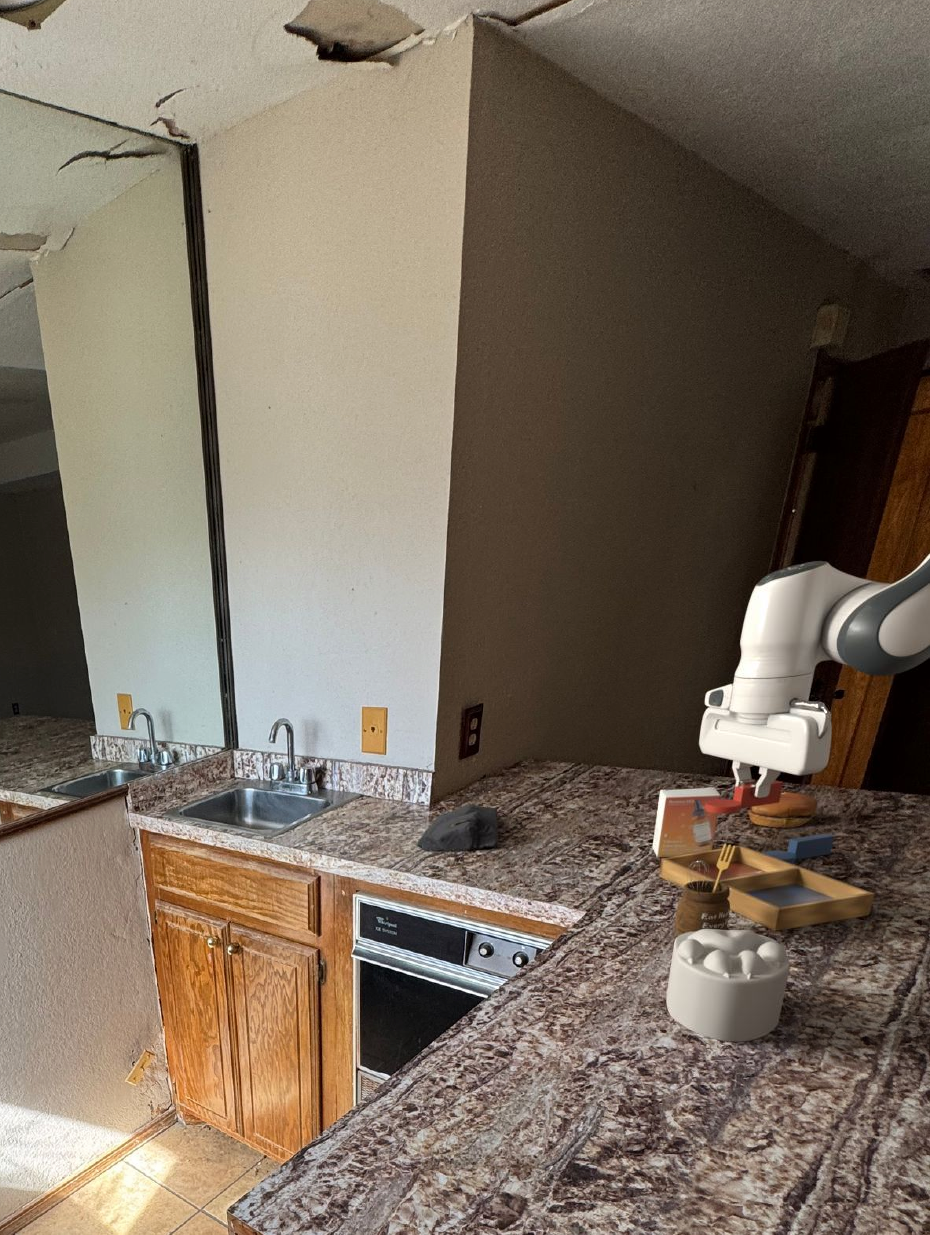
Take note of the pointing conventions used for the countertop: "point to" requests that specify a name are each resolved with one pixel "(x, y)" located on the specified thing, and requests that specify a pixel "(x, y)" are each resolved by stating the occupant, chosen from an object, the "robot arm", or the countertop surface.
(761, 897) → the cutlery tray
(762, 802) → the red angular block
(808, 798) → the burger
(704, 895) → the utensil holder
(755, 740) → the robot arm
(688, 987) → the lumpy-topped squat cylinder
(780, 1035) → the countertop surface
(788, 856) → the blue l-shaped block
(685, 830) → the small box
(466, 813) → the dark slate chunk
